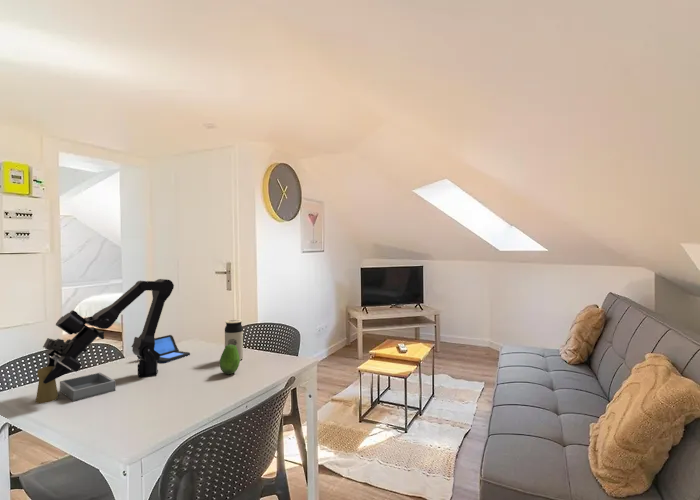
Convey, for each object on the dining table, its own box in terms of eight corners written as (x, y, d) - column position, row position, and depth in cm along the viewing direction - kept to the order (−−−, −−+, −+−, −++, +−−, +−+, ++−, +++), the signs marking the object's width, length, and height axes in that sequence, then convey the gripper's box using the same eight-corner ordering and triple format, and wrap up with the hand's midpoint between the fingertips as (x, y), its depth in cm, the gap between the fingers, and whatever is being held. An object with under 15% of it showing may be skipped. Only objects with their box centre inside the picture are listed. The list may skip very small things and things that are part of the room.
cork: (45, 403, 124) (45, 370, 124) (30, 402, 125) (30, 369, 125) (62, 396, 130) (62, 365, 130) (48, 395, 131) (48, 364, 131)
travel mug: (229, 356, 178) (229, 319, 178) (245, 357, 177) (245, 319, 177) (221, 361, 170) (221, 322, 171) (238, 362, 169) (238, 322, 169)
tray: (59, 390, 135) (59, 381, 136) (99, 381, 145) (99, 372, 145) (73, 401, 126) (73, 391, 126) (115, 390, 136) (115, 380, 136)
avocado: (240, 375, 152) (240, 345, 152) (219, 377, 149) (219, 347, 149) (239, 369, 159) (239, 341, 159) (219, 371, 157) (219, 342, 157)
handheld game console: (164, 364, 168) (164, 343, 168) (143, 360, 174) (143, 340, 174) (191, 355, 183) (191, 336, 183) (171, 352, 188) (171, 334, 188)
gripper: (53, 325, 137) (13, 363, 128) (69, 332, 125) (26, 374, 116) (79, 343, 143) (42, 380, 134) (96, 351, 131) (57, 392, 122)
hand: (41, 381), depth 126 cm, fingers closed on cork, 5 cm apart
